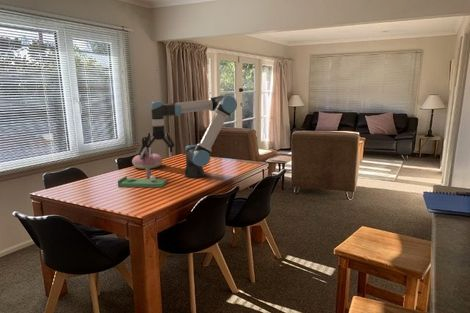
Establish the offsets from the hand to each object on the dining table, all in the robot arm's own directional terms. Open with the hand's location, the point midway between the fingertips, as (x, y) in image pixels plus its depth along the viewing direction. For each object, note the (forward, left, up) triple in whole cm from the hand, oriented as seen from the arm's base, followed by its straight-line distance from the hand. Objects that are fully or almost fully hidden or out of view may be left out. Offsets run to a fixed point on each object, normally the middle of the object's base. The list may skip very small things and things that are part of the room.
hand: (160, 157), depth 221 cm
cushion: (+29, -52, -19) cm, 63 cm away
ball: (+6, +1, -15) cm, 16 cm away
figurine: (+17, -20, -19) cm, 32 cm away
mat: (+13, +1, -19) cm, 23 cm away
